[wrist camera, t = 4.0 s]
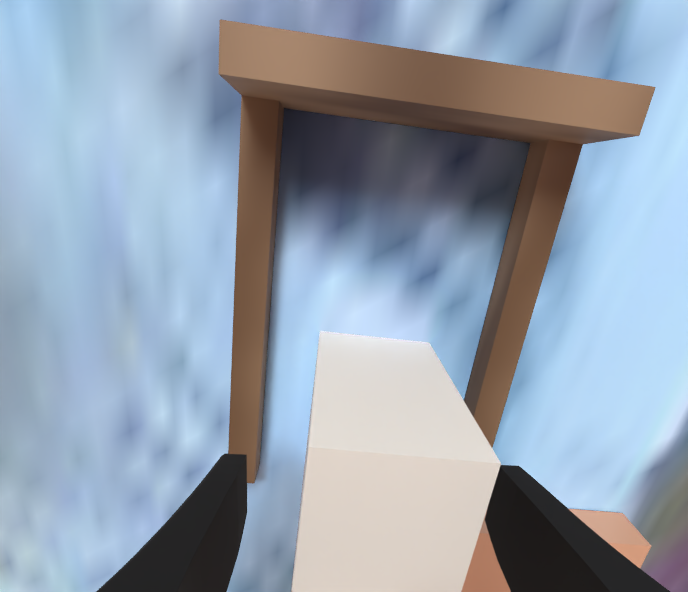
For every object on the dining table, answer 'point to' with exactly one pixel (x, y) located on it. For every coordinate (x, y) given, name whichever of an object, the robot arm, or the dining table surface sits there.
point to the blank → (389, 472)
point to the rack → (418, 111)
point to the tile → (484, 570)
